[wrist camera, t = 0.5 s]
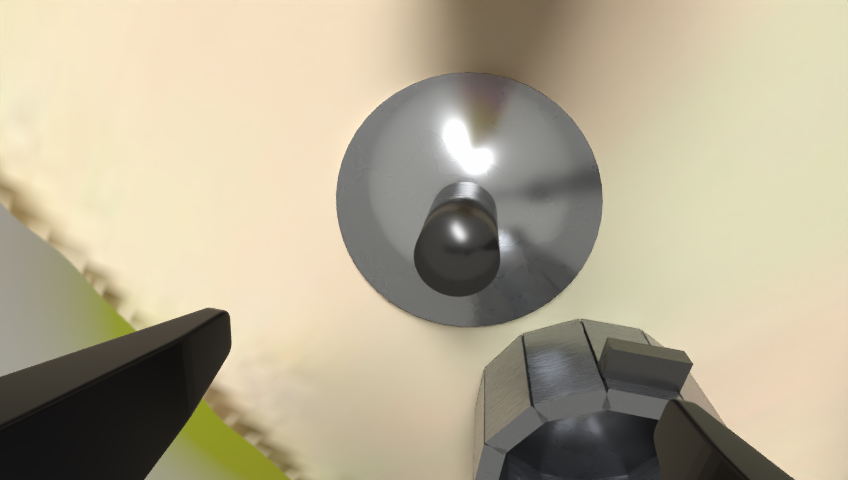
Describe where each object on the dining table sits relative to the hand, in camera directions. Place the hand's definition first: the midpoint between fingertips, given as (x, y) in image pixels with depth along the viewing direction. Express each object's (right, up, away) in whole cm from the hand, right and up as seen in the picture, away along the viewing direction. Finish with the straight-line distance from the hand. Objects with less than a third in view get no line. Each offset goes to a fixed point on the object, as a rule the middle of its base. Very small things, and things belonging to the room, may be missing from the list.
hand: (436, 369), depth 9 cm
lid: (+2, +4, +11) cm, 12 cm away
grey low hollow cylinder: (+8, -7, +14) cm, 18 cm away
